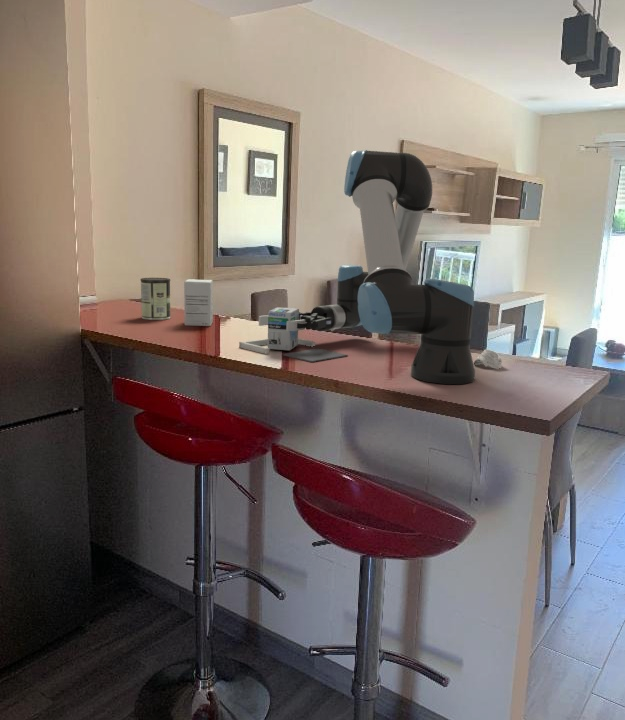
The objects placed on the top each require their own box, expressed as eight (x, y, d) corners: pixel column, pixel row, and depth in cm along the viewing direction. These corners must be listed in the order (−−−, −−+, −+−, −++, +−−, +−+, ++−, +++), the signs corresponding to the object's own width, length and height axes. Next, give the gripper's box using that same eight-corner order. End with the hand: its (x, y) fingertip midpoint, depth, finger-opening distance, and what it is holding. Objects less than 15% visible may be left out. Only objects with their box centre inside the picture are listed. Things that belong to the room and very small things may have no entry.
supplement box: (187, 321, 225) (187, 278, 222) (213, 322, 225) (213, 279, 222) (183, 325, 216) (183, 281, 213) (210, 326, 216) (210, 282, 213)
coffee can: (156, 315, 237) (155, 276, 234) (176, 318, 232) (176, 279, 229) (134, 317, 228) (134, 278, 225) (155, 321, 223) (155, 280, 220)
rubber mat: (347, 356, 175) (347, 354, 175) (311, 362, 166) (311, 361, 165) (318, 349, 183) (318, 348, 183) (282, 355, 173) (282, 354, 173)
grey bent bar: (314, 346, 187) (314, 341, 187) (266, 354, 174) (266, 348, 174) (287, 340, 195) (287, 335, 195) (239, 347, 182) (239, 342, 181)
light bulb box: (290, 351, 177) (291, 312, 175) (266, 349, 178) (267, 310, 176) (298, 344, 187) (299, 308, 185) (276, 343, 189) (277, 306, 187)
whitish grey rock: (485, 366, 175) (486, 348, 174) (508, 368, 170) (509, 350, 170) (470, 367, 169) (470, 349, 169) (493, 370, 164) (494, 351, 164)
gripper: (355, 335, 187) (302, 343, 171) (299, 325, 203) (246, 331, 187) (356, 310, 185) (303, 315, 170) (300, 301, 201) (246, 305, 186)
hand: (273, 323), depth 179 cm, fingers closed on light bulb box, 11 cm apart
